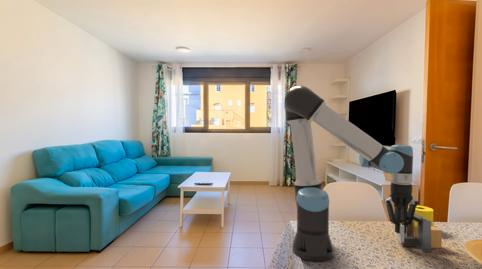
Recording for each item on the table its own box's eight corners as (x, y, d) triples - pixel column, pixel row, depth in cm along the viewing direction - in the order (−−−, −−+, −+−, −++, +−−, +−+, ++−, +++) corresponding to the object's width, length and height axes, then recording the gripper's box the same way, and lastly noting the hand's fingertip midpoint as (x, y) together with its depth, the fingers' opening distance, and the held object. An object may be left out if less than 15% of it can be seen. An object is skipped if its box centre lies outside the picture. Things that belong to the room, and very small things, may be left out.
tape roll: (416, 222, 129) (416, 204, 129) (438, 229, 119) (438, 209, 119) (403, 225, 125) (403, 206, 125) (424, 232, 116) (424, 212, 116)
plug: (405, 246, 101) (405, 229, 101) (399, 242, 105) (399, 225, 105) (441, 247, 101) (441, 230, 101) (434, 243, 105) (434, 226, 105)
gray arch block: (422, 252, 97) (422, 219, 97) (402, 238, 110) (402, 209, 110) (430, 252, 96) (431, 219, 96) (409, 238, 109) (409, 209, 109)
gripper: (390, 184, 100) (388, 244, 100) (423, 185, 99) (422, 245, 99) (380, 180, 107) (379, 236, 107) (411, 181, 107) (410, 237, 107)
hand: (400, 240), depth 103 cm, fingers closed
